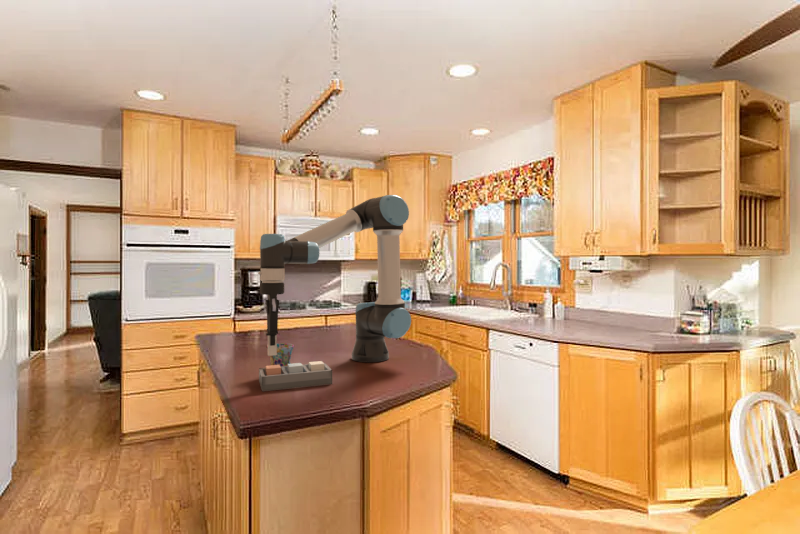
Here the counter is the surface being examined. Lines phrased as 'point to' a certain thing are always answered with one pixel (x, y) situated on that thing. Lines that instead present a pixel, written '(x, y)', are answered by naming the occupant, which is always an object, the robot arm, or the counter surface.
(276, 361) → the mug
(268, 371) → the key
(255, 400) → the counter surface
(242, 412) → the counter surface
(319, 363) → the key
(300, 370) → the key middle
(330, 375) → the grey compartment tray
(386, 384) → the counter surface
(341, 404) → the counter surface
